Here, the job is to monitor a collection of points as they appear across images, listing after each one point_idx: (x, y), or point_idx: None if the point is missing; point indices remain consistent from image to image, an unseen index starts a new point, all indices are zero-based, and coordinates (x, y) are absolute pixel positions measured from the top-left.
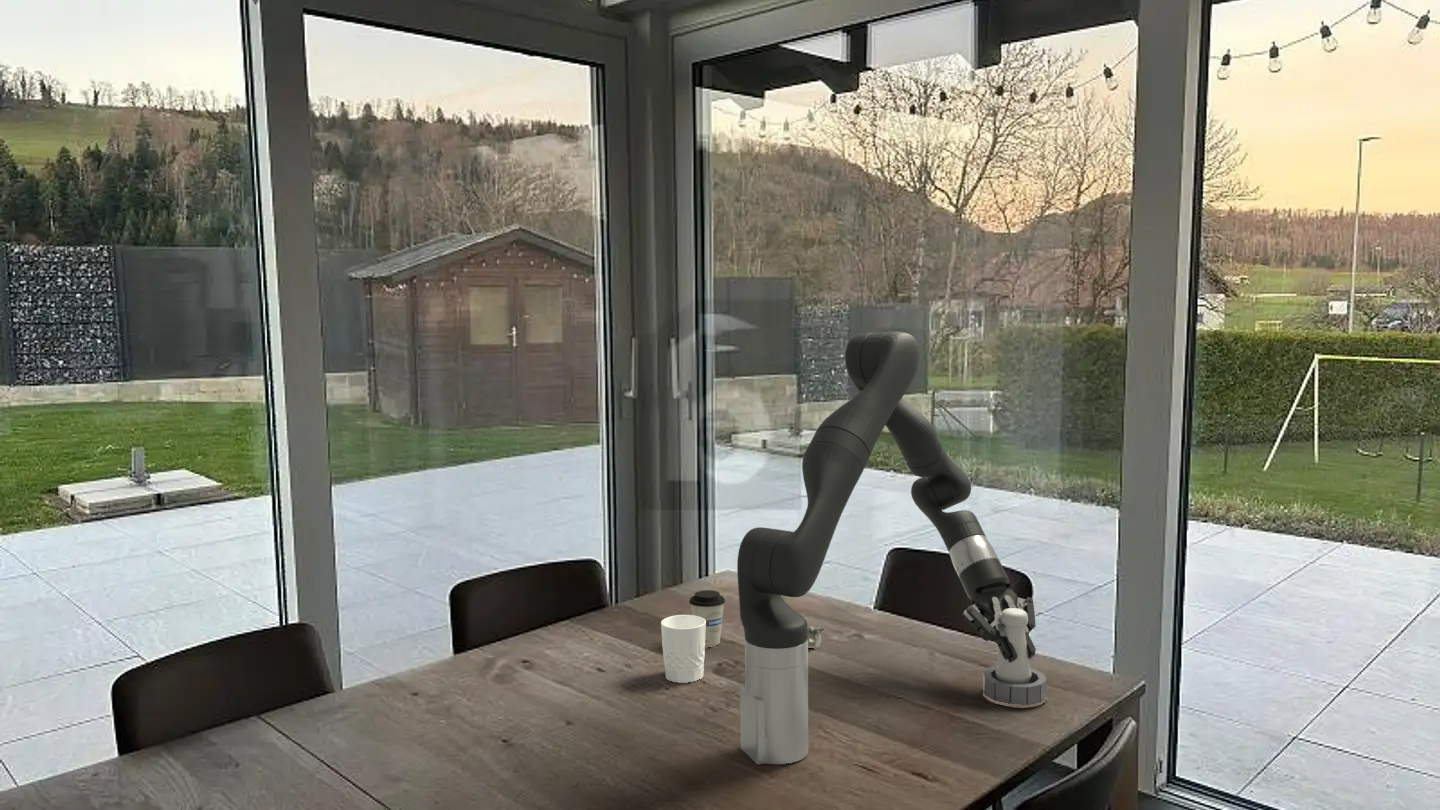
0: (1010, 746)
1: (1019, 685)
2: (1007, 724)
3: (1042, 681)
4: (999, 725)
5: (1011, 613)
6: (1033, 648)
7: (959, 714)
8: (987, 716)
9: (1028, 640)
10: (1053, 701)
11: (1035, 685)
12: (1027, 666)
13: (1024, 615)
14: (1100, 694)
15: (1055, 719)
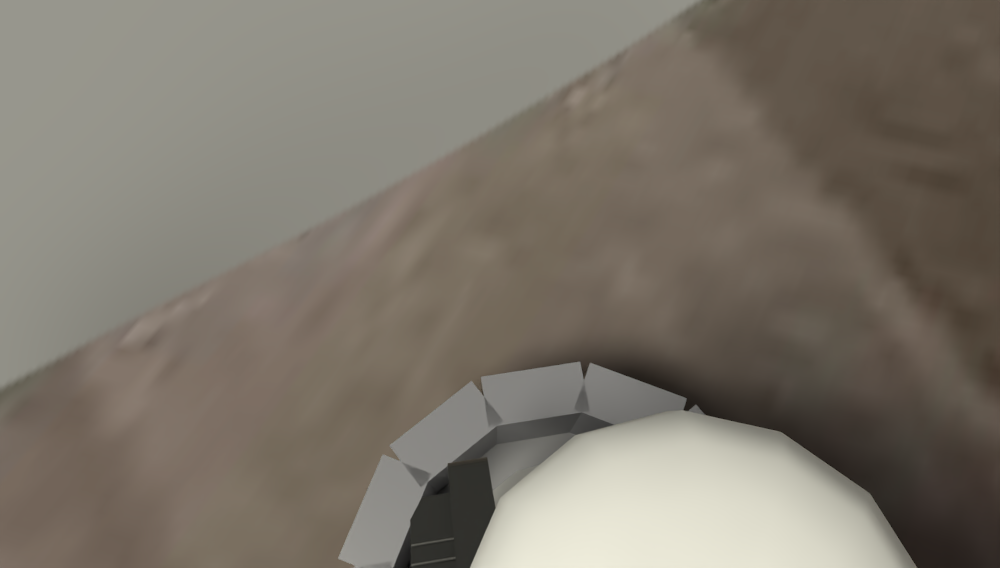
0: (840, 40)
1: (623, 402)
2: (764, 236)
3: (431, 428)
4: (809, 235)
5: (843, 523)
6: (433, 517)
7: (980, 414)
8: (832, 350)
9: (467, 555)
10: (369, 444)
11: (518, 374)
12: (521, 478)
13: (601, 444)
14: (34, 468)
15: (498, 228)
